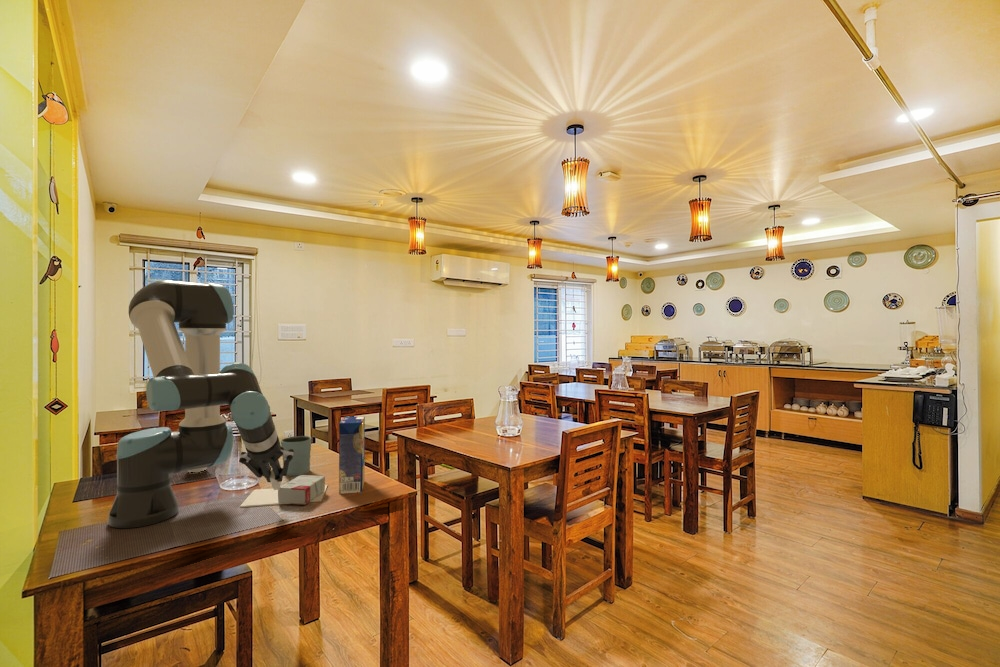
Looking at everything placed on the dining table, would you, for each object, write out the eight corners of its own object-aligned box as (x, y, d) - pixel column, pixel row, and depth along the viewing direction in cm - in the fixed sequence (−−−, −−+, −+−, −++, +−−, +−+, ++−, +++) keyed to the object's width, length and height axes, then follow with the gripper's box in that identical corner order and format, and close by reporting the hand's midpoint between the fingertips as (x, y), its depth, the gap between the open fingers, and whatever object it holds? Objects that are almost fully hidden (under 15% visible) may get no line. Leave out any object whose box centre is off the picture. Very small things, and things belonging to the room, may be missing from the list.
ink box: (305, 505, 134) (325, 491, 146) (305, 488, 134) (325, 475, 146) (277, 503, 136) (300, 490, 147) (277, 487, 135) (300, 474, 147)
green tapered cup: (304, 476, 162) (304, 442, 162) (275, 476, 162) (275, 442, 162) (316, 468, 172) (316, 435, 172) (288, 467, 172) (288, 435, 172)
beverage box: (364, 481, 157) (364, 416, 157) (361, 492, 146) (362, 422, 146) (343, 482, 156) (343, 416, 156) (339, 493, 145) (339, 423, 145)
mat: (239, 507, 134) (239, 506, 134) (254, 490, 147) (254, 489, 147) (321, 501, 139) (321, 500, 139) (327, 485, 152) (327, 484, 152)
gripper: (228, 455, 111) (249, 499, 128) (287, 451, 114) (300, 496, 131) (235, 428, 116) (255, 474, 133) (291, 426, 119) (303, 471, 136)
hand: (277, 485), depth 132 cm, fingers closed
